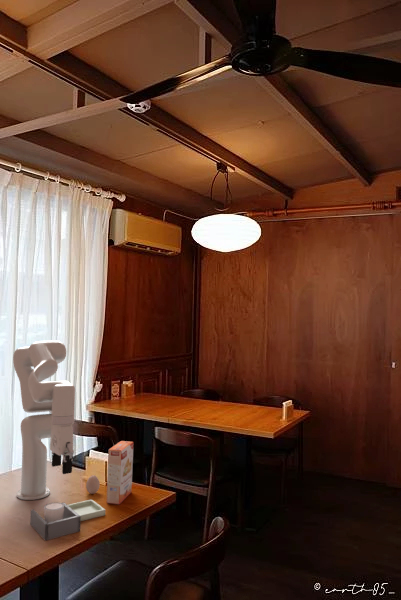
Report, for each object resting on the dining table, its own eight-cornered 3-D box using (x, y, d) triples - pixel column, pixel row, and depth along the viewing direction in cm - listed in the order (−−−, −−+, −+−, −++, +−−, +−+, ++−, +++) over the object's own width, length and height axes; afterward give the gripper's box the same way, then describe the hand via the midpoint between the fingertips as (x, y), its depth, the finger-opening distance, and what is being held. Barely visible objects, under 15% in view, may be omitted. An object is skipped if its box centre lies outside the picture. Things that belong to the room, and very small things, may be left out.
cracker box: (120, 505, 188) (122, 450, 189) (105, 503, 189) (107, 449, 190) (132, 492, 202) (134, 441, 202) (118, 490, 203) (120, 440, 204)
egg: (84, 495, 197) (84, 477, 197) (87, 491, 202) (88, 473, 202) (97, 496, 197) (98, 477, 197) (100, 491, 202) (101, 473, 202)
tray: (62, 511, 181) (62, 506, 181) (91, 504, 188) (91, 499, 188) (74, 522, 172) (75, 516, 172) (105, 515, 179) (105, 509, 179)
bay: (30, 524, 170) (30, 509, 170) (63, 516, 177) (64, 502, 177) (45, 540, 158) (45, 524, 158) (80, 531, 165) (80, 516, 166)
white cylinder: (38, 528, 167) (39, 507, 167) (51, 520, 173) (52, 500, 173) (55, 532, 164) (55, 511, 164) (68, 524, 170) (68, 504, 171)
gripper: (43, 416, 175) (42, 465, 175) (61, 425, 161) (60, 478, 161) (63, 414, 180) (62, 461, 179) (83, 423, 166) (82, 474, 165)
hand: (61, 469), depth 170 cm, fingers open, 9 cm apart
